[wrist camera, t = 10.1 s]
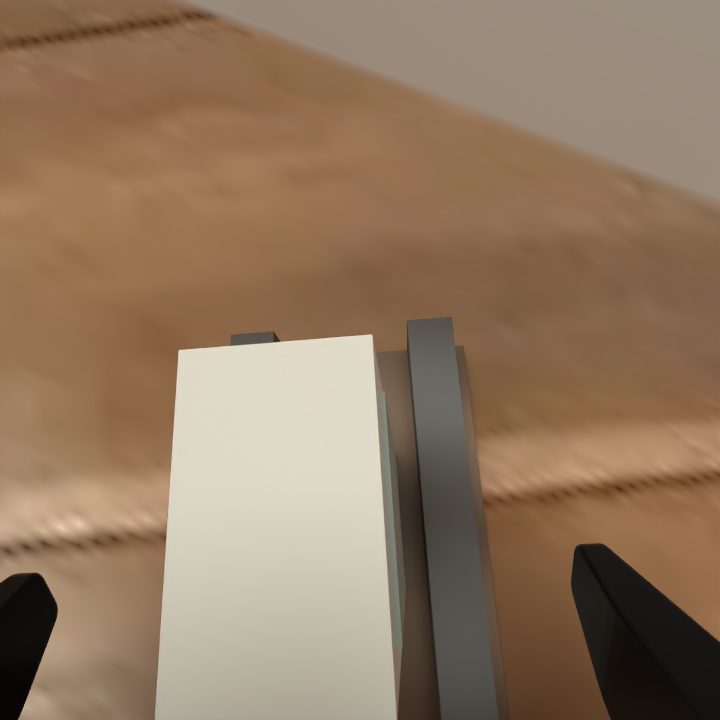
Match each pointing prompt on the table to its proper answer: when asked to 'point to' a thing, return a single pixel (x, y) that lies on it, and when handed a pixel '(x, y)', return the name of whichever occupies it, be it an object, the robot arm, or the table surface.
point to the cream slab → (282, 537)
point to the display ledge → (439, 531)
